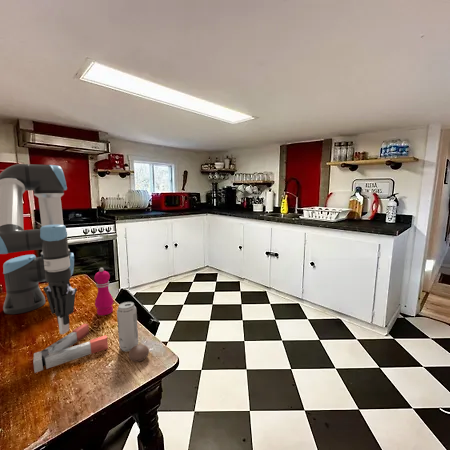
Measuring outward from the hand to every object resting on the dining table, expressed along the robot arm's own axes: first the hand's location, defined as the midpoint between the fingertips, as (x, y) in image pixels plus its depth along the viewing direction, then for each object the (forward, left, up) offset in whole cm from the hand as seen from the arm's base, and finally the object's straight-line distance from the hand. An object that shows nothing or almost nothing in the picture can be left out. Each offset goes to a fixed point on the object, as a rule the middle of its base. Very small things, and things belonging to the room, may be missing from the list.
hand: (64, 332), depth 91 cm
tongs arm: (+7, +1, -2) cm, 7 cm away
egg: (+28, +18, -2) cm, 33 cm away
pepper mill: (-12, +15, -2) cm, 20 cm away
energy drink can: (+20, +17, -2) cm, 26 cm away
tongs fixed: (+14, +1, -2) cm, 14 cm away
